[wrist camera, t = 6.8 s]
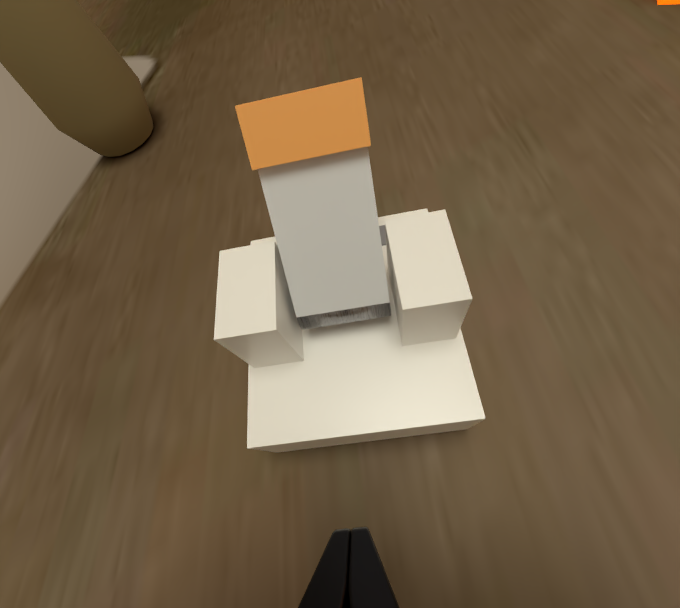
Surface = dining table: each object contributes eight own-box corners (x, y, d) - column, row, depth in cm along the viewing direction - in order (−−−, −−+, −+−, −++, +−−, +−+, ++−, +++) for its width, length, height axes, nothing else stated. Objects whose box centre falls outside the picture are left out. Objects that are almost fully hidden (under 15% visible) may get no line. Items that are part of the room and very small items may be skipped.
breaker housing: (468, 429, 17) (514, 400, 10) (277, 452, 18) (198, 441, 11) (423, 250, 22) (433, 146, 15) (273, 276, 23) (217, 190, 16)
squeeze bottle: (78, 176, 31) (-258, -130, 15) (94, 119, 35) (-165, -177, 19) (162, 155, 31) (-98, -186, 15) (169, 99, 34) (-33, -223, 18)
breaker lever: (396, 327, 14) (361, 77, 11) (298, 342, 15) (235, 105, 11) (389, 301, 17) (359, 92, 14) (306, 314, 17) (256, 115, 14)
